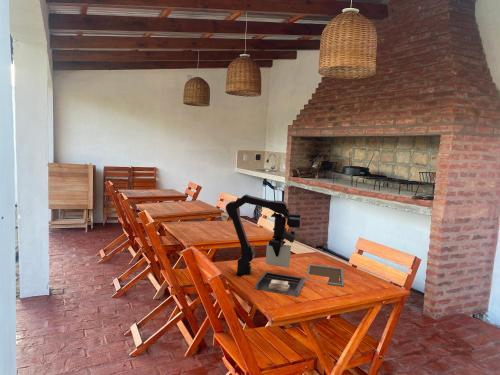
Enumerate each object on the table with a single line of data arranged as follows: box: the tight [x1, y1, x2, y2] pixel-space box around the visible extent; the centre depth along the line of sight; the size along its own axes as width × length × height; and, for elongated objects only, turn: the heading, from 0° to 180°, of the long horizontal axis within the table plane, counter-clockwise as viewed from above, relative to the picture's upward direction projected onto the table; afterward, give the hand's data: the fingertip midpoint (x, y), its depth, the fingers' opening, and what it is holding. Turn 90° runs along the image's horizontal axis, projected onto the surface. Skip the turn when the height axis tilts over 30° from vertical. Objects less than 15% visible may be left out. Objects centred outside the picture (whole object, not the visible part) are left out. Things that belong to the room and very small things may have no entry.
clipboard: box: [305, 264, 345, 288], centre depth 214 cm, size 19×2×30 cm
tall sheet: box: [265, 242, 292, 269], centre depth 202 cm, size 12×2×11 cm, turn 73°
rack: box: [254, 270, 306, 298], centre depth 190 cm, size 20×19×4 cm
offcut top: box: [270, 280, 288, 288], centre depth 187 cm, size 8×4×2 cm, turn 79°
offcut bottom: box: [269, 283, 290, 292], centre depth 187 cm, size 9×5×2 cm, turn 73°
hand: (277, 256), depth 202 cm, fingers closed on tall sheet, 2 cm apart
